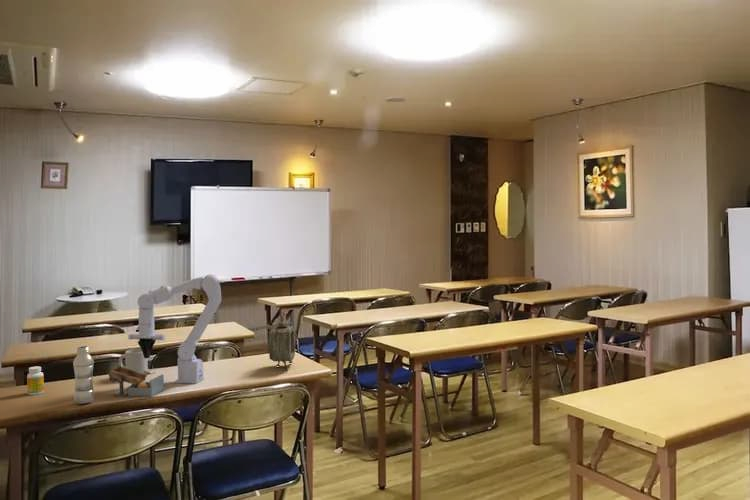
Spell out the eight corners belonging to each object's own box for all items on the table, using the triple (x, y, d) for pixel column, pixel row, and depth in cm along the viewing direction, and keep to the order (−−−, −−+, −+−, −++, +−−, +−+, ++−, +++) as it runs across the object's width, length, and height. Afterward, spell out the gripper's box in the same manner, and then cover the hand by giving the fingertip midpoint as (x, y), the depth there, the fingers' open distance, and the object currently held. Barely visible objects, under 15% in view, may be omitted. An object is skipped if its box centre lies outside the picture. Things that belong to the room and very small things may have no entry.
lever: (153, 380, 226) (155, 370, 226) (134, 389, 213) (136, 379, 212) (127, 372, 227) (130, 362, 227) (107, 380, 214) (110, 370, 214)
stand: (141, 388, 222) (141, 371, 221) (125, 396, 211) (125, 378, 211) (129, 388, 222) (129, 371, 222) (113, 396, 212) (112, 378, 211)
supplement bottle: (32, 395, 214) (31, 370, 214) (24, 393, 217) (23, 368, 216) (46, 392, 219) (46, 366, 218) (39, 390, 221) (38, 365, 221)
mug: (151, 374, 243) (151, 348, 243) (141, 379, 235) (140, 353, 235) (125, 373, 245) (124, 348, 245) (113, 379, 237) (112, 352, 236)
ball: (150, 383, 217) (142, 379, 218) (145, 386, 214) (137, 381, 214) (146, 392, 218) (138, 387, 218) (141, 394, 214) (133, 389, 214)
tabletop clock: (290, 371, 245) (289, 313, 244) (269, 371, 246) (267, 313, 245) (295, 363, 260) (294, 308, 259) (275, 363, 260) (274, 308, 259)
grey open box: (163, 390, 219) (163, 374, 219) (151, 396, 211) (151, 380, 210) (141, 389, 221) (140, 373, 220) (128, 396, 212) (127, 380, 212)
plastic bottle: (78, 400, 207) (76, 345, 206) (98, 400, 207) (96, 345, 207) (70, 406, 200) (68, 349, 200) (90, 405, 201) (88, 348, 200)
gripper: (123, 324, 225) (124, 359, 225) (158, 325, 223) (159, 360, 224) (133, 322, 232) (134, 355, 232) (167, 322, 230) (168, 356, 231)
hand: (147, 357), depth 228 cm, fingers closed
